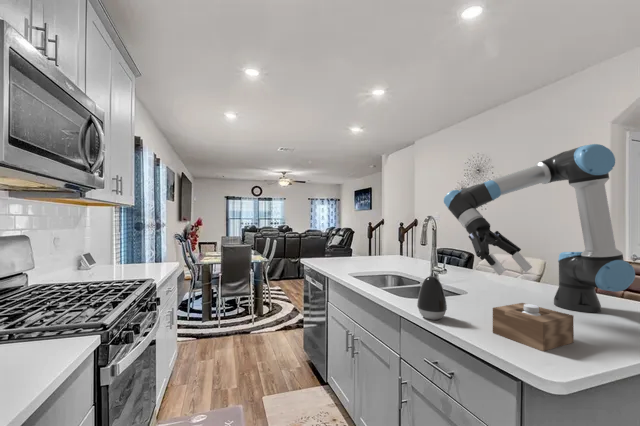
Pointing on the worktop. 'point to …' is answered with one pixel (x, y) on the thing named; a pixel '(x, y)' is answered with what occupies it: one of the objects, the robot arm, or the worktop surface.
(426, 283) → the dark grey egg speaker
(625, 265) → the robot arm
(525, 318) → the drop box
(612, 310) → the worktop surface
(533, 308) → the pill bottle
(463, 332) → the worktop surface
